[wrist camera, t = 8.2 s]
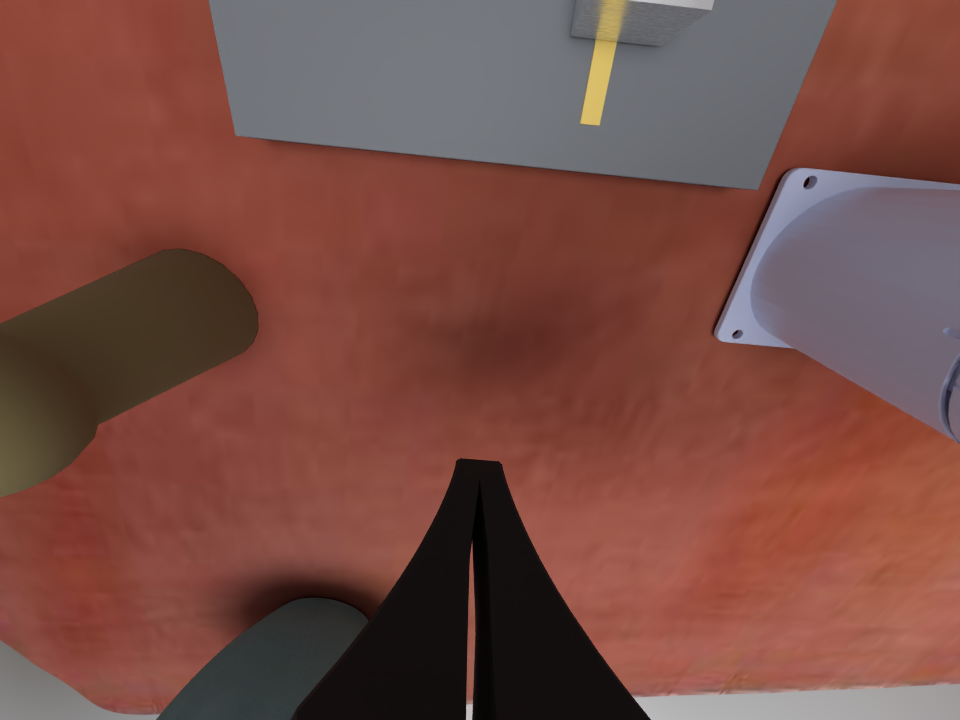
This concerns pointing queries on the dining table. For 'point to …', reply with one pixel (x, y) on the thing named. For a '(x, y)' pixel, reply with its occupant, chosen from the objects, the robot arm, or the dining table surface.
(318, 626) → the teal bowl
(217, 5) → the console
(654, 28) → the fader
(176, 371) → the cork
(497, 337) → the dining table surface
